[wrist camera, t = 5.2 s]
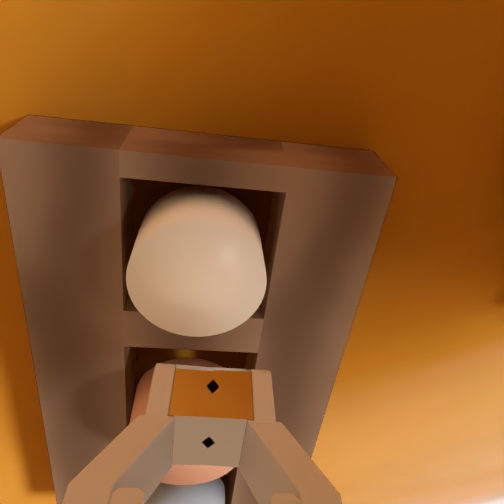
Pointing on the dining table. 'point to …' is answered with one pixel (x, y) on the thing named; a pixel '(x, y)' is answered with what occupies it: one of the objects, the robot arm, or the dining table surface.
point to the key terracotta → (178, 472)
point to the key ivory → (197, 263)
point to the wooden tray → (120, 248)
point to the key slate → (189, 493)
